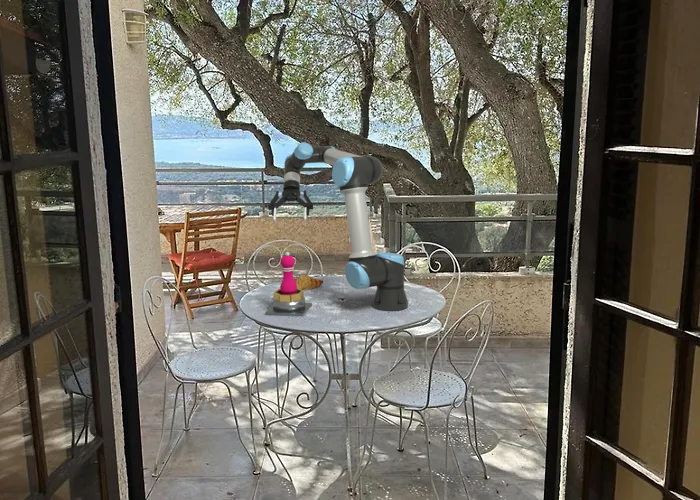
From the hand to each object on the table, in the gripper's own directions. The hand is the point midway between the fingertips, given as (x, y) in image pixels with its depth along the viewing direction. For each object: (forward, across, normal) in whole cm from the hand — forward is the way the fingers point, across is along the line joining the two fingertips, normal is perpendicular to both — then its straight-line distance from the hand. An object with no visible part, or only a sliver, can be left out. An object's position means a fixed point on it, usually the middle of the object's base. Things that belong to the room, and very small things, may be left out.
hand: (290, 221), depth 273 cm
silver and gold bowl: (+38, 0, -13) cm, 40 cm away
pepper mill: (+34, 0, -9) cm, 35 cm away
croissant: (+11, -3, -40) cm, 41 cm away
